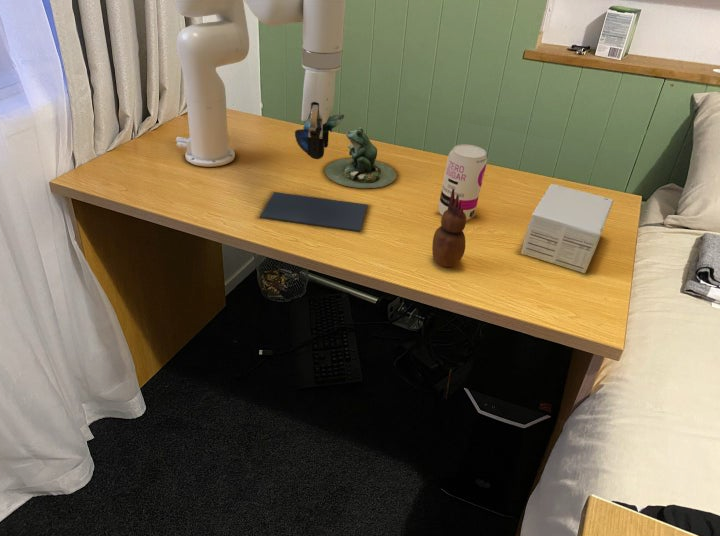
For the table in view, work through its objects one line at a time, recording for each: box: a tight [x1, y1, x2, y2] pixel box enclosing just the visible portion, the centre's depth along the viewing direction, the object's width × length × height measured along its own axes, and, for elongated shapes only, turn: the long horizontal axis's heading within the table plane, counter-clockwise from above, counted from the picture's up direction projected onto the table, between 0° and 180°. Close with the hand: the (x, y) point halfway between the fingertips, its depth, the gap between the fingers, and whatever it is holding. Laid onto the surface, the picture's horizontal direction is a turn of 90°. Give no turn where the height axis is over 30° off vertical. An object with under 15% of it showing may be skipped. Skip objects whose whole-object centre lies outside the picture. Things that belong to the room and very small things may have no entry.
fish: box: [294, 113, 346, 160], centre depth 116 cm, size 4×10×10 cm, turn 78°
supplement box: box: [520, 183, 615, 274], centre depth 117 cm, size 17×13×9 cm
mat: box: [259, 191, 368, 233], centre depth 127 cm, size 22×12×1 cm, turn 79°
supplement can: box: [437, 143, 488, 221], centre depth 125 cm, size 8×8×15 cm
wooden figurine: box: [431, 189, 467, 268], centre depth 109 cm, size 7×6×15 cm
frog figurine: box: [324, 127, 397, 189], centre depth 141 cm, size 18×18×12 cm
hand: (317, 150), depth 118 cm, fingers closed on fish, 4 cm apart
